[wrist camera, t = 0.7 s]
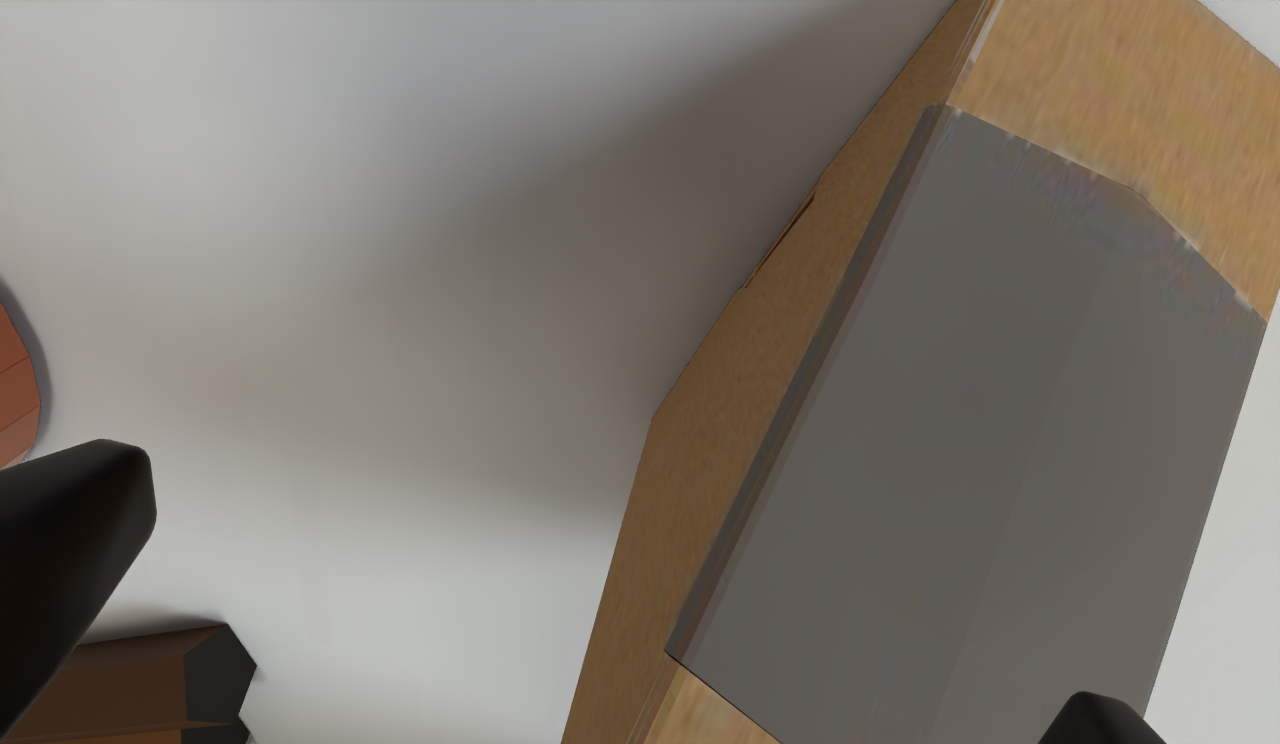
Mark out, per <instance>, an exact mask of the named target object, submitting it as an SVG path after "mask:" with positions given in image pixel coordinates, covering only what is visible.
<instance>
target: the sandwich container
mask: <svg viewBox="0 0 1280 744" xmlns="http://www.w3.org/2000/svg"><path fill="white" fill-rule="evenodd" d="M1279 289H1280V68H1279V67H1277V66H1276V65H1275V64H1274V63H1273V62H1271V61H1270V60H1269V59H1268V58H1267V57H1265V56H1264V55H1263V54H1262V53H1261V52H1259V51H1258V50H1257V49H1256V48H1255V47H1253V46H1252V45H1251V44H1250V43H1249V42H1247V41H1246V40H1245V39H1244V38H1243V37H1241V36H1240V35H1239V34H1238V33H1237V32H1235V31H1234V30H1233V29H1232V28H1231V27H1229V26H1228V25H1227V24H1226V23H1225V22H1223V21H1222V20H1221V19H1220V18H1219V17H1217V16H1216V15H1215V14H1214V13H1213V12H1211V11H1210V10H1209V9H1208V8H1207V7H1205V6H1204V5H1203V4H1202V3H1200V2H1199V1H1197V0H956V2H955V3H954V4H953V5H952V7H951V8H950V9H949V11H948V12H947V13H946V15H945V16H944V17H943V18H942V20H941V21H940V22H939V24H938V25H937V26H936V28H935V29H934V30H933V31H932V33H931V34H930V35H929V37H928V38H927V39H926V40H925V42H924V43H923V44H922V46H921V47H920V48H919V50H918V51H917V52H916V53H915V55H914V56H913V57H912V59H911V60H910V61H909V62H908V64H907V65H906V66H905V68H904V69H903V70H902V72H901V73H900V74H899V75H898V77H897V78H896V79H895V81H894V82H893V83H892V84H891V86H890V87H889V88H888V90H887V91H886V92H885V94H884V95H883V96H882V97H881V99H880V100H879V101H878V103H877V104H876V105H875V107H874V108H873V109H872V110H871V112H870V113H869V114H868V116H867V117H866V118H865V119H864V121H863V122H862V123H861V125H860V126H859V127H858V129H857V130H856V131H855V132H854V134H853V135H852V136H851V138H850V139H849V140H848V141H847V143H846V144H845V145H844V147H843V148H842V149H841V151H840V152H839V153H838V154H837V156H836V157H835V158H834V160H833V161H832V162H831V163H830V165H829V166H828V167H827V169H826V170H825V171H824V173H823V174H822V175H821V176H820V179H819V182H818V183H817V184H816V186H815V187H814V189H813V190H812V191H811V193H810V194H809V195H808V197H807V198H806V200H805V201H804V202H803V204H802V205H801V206H800V208H799V209H798V211H797V212H796V213H795V215H794V216H793V218H792V219H791V220H790V222H789V223H788V225H787V226H786V227H785V229H784V230H783V232H782V233H781V234H780V236H779V237H778V239H777V240H776V241H775V243H774V244H773V245H772V247H771V248H770V249H769V251H768V252H767V253H766V255H765V256H764V258H763V259H762V260H761V262H760V263H759V264H758V266H757V267H756V268H755V270H754V271H753V273H752V274H751V275H750V277H749V278H748V279H747V281H746V282H745V283H744V285H743V286H742V287H741V289H738V290H737V291H736V293H735V294H734V296H733V297H732V299H731V300H730V302H729V303H728V305H727V306H726V308H725V309H724V311H723V312H722V314H721V315H720V317H719V318H718V320H717V321H716V323H715V324H714V326H713V327H712V329H711V331H710V332H709V334H708V335H707V337H706V338H705V340H704V341H703V343H702V344H701V346H700V347H699V349H698V350H697V352H696V353H695V355H694V356H693V358H692V359H691V361H690V362H689V364H688V365H687V367H686V368H685V370H684V371H683V373H682V374H681V376H680V377H679V379H678V380H677V382H676V383H675V385H674V386H673V388H672V389H671V391H670V392H669V394H668V395H667V397H666V398H665V400H664V401H663V403H662V404H661V406H660V407H659V409H658V410H657V412H656V413H655V415H654V417H653V418H652V420H651V424H650V427H649V431H648V434H647V438H646V441H645V445H644V448H643V452H642V455H641V459H640V462H639V466H638V469H637V473H636V476H635V480H634V483H633V487H632V490H631V494H630V497H629V500H628V504H627V507H626V511H625V514H624V518H623V522H622V525H621V529H620V532H619V536H618V540H617V543H616V547H615V550H614V554H613V558H612V561H611V565H610V568H609V572H608V576H607V579H606V583H605V586H604V590H603V594H602V597H601V601H600V604H599V608H598V612H597V615H596V619H595V622H594V626H593V630H592V633H591V637H590V640H589V644H588V648H587V651H586V655H585V659H584V662H583V666H582V669H581V673H580V677H579V680H578V684H577V687H576V691H575V695H574V698H573V702H572V705H571V709H570V713H569V716H568V720H567V723H566V727H565V731H564V734H563V738H562V741H561V744H1038V742H1039V740H1040V739H1041V738H1042V736H1043V735H1044V733H1045V732H1046V730H1047V729H1048V728H1049V726H1050V725H1051V723H1052V722H1053V720H1054V719H1055V718H1056V716H1057V715H1058V713H1059V712H1060V710H1061V709H1062V708H1063V706H1064V705H1065V703H1066V702H1067V700H1068V699H1069V698H1070V697H1071V696H1072V695H1073V694H1075V693H1077V692H1079V691H1088V692H1092V693H1096V694H1100V695H1103V696H1107V697H1111V698H1115V699H1119V700H1121V701H1123V702H1125V703H1127V704H1128V705H1130V706H1131V707H1132V708H1133V709H1134V710H1135V711H1136V712H1137V713H1138V714H1139V715H1140V716H1141V717H1142V718H1144V715H1145V712H1146V708H1147V705H1148V702H1149V699H1150V696H1151V693H1152V690H1153V687H1154V684H1155V681H1156V678H1157V674H1158V671H1159V668H1160V665H1161V662H1162V659H1163V656H1164V653H1165V650H1166V647H1167V644H1168V640H1169V637H1170V634H1171V631H1172V628H1173V625H1174V622H1175V619H1176V616H1177V612H1178V609H1179V606H1180V603H1181V600H1182V596H1183V593H1184V590H1185V587H1186V583H1187V580H1188V577H1189V574H1190V571H1191V567H1192V564H1193V561H1194V558H1195V554H1196V551H1197V548H1198V545H1199V542H1200V538H1201V535H1202V532H1203V529H1204V525H1205V522H1206V519H1207V516H1208V513H1209V509H1210V506H1211V503H1212V500H1213V496H1214V493H1215V490H1216V487H1217V484H1218V480H1219V477H1220V474H1221V471H1222V468H1223V465H1224V461H1225V458H1226V455H1227V452H1228V449H1229V445H1230V442H1231V439H1232V436H1233V433H1234V429H1235V426H1236V423H1237V420H1238V417H1239V414H1240V410H1241V407H1242V404H1243V401H1244V398H1245V394H1246V391H1247V388H1248V385H1249V382H1250V378H1251V375H1252V372H1253V369H1254V366H1255V363H1256V359H1257V356H1258V353H1259V350H1260V347H1261V343H1262V340H1263V337H1264V334H1265V331H1266V327H1267V324H1268V321H1269V318H1270V315H1271V312H1272V309H1273V306H1274V303H1275V300H1276V297H1277V294H1278V292H1279Z"/></svg>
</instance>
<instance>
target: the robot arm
mask: <svg viewBox="0 0 1280 744" xmlns="http://www.w3.org/2000/svg"><path fill="white" fill-rule="evenodd" d="M156 516H157V509H156V502H155V494H154V486H153V478H152V470H151V462H150V458H149V456H148V455H147V453H146V452H145V450H143V449H141V448H140V447H137V446H133V445H129V444H125V443H121V442H117V441H113V440H109V439H97V440H93V441H90V442H87V443H83V444H80V445H77V446H74V447H71V448H68V449H65V450H62V451H59V452H55V453H52V454H49V455H46V456H43V457H40V458H37V459H34V460H31V461H27V462H24V463H21V464H18V465H15V466H12V467H9V468H6V469H3V470H0V743H1V742H2V741H3V739H4V738H5V737H6V736H7V734H8V733H9V732H10V731H11V730H12V728H13V727H14V726H15V725H16V724H17V722H18V721H19V720H20V719H21V718H22V716H23V715H24V714H25V713H26V712H27V710H28V709H29V708H30V707H31V705H32V704H33V703H34V702H35V701H36V699H37V698H38V697H39V696H40V694H41V693H42V692H43V691H44V689H45V688H46V687H47V686H48V684H49V683H50V682H51V681H52V679H53V678H54V677H55V676H56V674H57V673H58V671H59V670H60V669H61V667H62V666H63V665H64V663H65V662H66V660H67V659H68V658H69V656H70V655H71V653H72V652H73V651H74V649H75V648H76V646H77V645H78V643H79V642H80V640H81V639H82V637H83V636H84V634H85V633H86V631H87V630H88V628H89V627H90V625H91V624H92V622H93V621H94V619H95V618H96V616H97V615H98V614H99V612H100V611H101V609H102V608H103V606H104V605H105V603H106V602H107V600H108V599H109V597H110V596H111V594H112V593H113V591H114V590H115V588H116V587H117V585H118V584H119V582H120V581H121V579H122V578H123V577H124V575H125V574H126V572H127V571H128V569H129V568H130V566H131V565H132V563H133V562H134V560H135V559H136V557H137V556H138V554H139V553H140V551H141V550H142V548H143V547H144V545H145V544H146V542H147V541H148V539H149V538H150V536H151V534H152V532H153V529H154V526H155V523H156ZM1038 744H1166V743H1165V742H1164V740H1163V739H1162V738H1161V737H1160V736H1159V735H1158V734H1157V733H1156V732H1155V731H1154V730H1153V729H1152V728H1151V727H1150V726H1149V725H1148V724H1147V723H1146V722H1145V721H1144V720H1143V718H1142V717H1141V716H1140V715H1139V714H1138V713H1137V712H1136V711H1135V710H1134V709H1133V708H1132V707H1131V706H1130V705H1128V704H1127V703H1125V702H1123V701H1121V700H1119V699H1115V698H1111V697H1107V696H1103V695H1100V694H1096V693H1092V692H1088V691H1079V692H1077V693H1075V694H1073V695H1072V696H1071V697H1070V698H1069V699H1068V700H1067V702H1066V703H1065V705H1064V706H1063V708H1062V709H1061V710H1060V712H1059V713H1058V715H1057V716H1056V718H1055V719H1054V720H1053V722H1052V723H1051V725H1050V726H1049V728H1048V729H1047V730H1046V732H1045V733H1044V735H1043V736H1042V738H1041V739H1040V740H1039V742H1038Z"/></svg>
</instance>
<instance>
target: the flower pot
mask: <svg viewBox="0 0 1280 744" xmlns="http://www.w3.org/2000/svg"><path fill="white" fill-rule="evenodd" d="M40 403H41V400H40V396H39V392H38V388H37V383H36V379H35V375H34V371H33V366H32V362H31V358H30V356H29V353H28V351H27V350H26V348H25V346H24V344H23V342H22V340H21V339H20V337H19V335H18V333H17V331H16V329H15V328H14V326H13V324H12V322H11V320H10V319H9V317H8V315H7V313H6V311H5V309H4V308H3V306H2V305H1V304H0V470H3V469H6V468H9V467H12V466H15V465H18V464H20V462H21V461H22V460H23V458H24V457H25V456H26V454H27V453H28V452H29V451H30V449H31V448H32V447H33V445H34V443H35V441H36V435H37V428H38V422H39V415H40V408H41V404H40Z"/></svg>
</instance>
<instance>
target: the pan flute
mask: <svg viewBox="0 0 1280 744" xmlns="http://www.w3.org/2000/svg"><path fill="white" fill-rule="evenodd" d="M256 667H257V665H256V664H255V663H254V661H253V660H252V658H251V657H250V655H249V654H248V653H247V651H246V650H245V648H244V647H243V646H242V644H241V643H240V641H239V640H238V638H237V637H236V636H235V634H234V633H233V631H232V630H231V628H230V627H229V626H228V624H227V625H220V626H212V627H205V628H198V629H191V630H183V631H176V632H169V633H162V634H154V635H147V636H140V637H132V638H125V639H118V640H111V641H103V642H96V643H89V644H81V645H77V646H76V648H75V649H74V651H73V652H72V653H71V655H70V656H69V658H68V659H67V660H66V662H65V663H64V665H63V666H62V667H61V669H60V670H59V671H58V673H57V674H56V676H55V677H54V678H53V679H52V681H51V682H50V683H49V684H48V686H47V687H46V688H45V689H44V691H43V692H42V693H41V694H40V696H39V697H38V698H37V699H36V701H35V702H34V703H33V704H32V705H31V707H30V708H29V709H28V710H27V712H26V713H25V714H24V715H23V716H22V718H21V719H20V720H19V721H18V722H17V724H16V725H15V726H14V727H13V728H12V730H11V731H10V732H9V733H8V734H7V736H6V737H5V738H4V739H3V741H2V742H1V743H0V744H246V741H247V739H248V736H249V733H250V732H249V731H248V730H247V728H246V727H245V726H244V724H243V723H242V722H241V720H240V719H239V718H238V714H239V712H240V709H241V706H242V704H243V701H244V698H245V696H246V693H247V690H248V688H249V685H250V682H251V680H252V677H253V674H254V672H255V669H256Z"/></svg>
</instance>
